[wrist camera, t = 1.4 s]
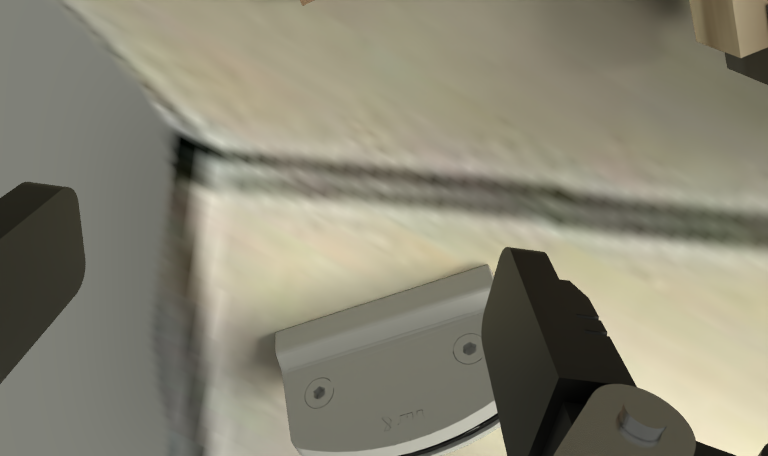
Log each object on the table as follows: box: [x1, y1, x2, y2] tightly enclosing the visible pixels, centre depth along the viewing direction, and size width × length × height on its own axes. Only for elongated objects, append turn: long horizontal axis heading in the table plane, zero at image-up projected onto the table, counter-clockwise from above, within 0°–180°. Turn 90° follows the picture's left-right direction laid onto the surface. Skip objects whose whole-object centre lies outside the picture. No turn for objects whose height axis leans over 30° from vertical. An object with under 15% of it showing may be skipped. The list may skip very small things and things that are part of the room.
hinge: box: [275, 265, 501, 456], centre depth 37 cm, size 17×5×10 cm, turn 112°
